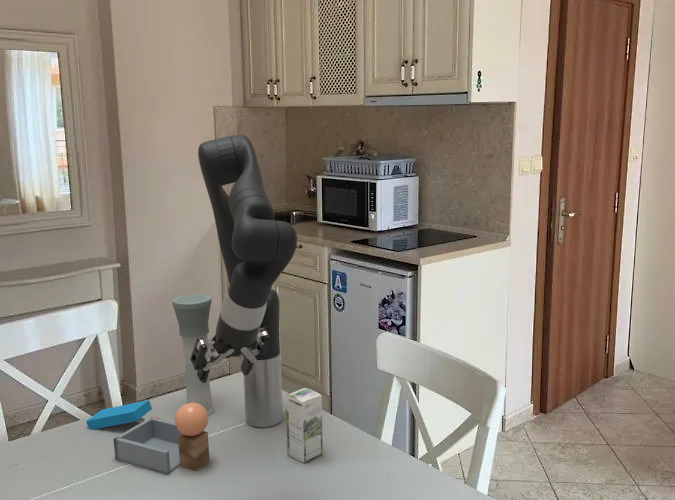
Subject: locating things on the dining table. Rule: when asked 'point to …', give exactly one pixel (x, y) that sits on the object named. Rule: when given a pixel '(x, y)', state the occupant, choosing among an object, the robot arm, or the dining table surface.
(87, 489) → the dining table surface
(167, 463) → the tray
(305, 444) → the syrup box
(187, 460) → the wooden block
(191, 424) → the ball
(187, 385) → the container
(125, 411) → the lever
